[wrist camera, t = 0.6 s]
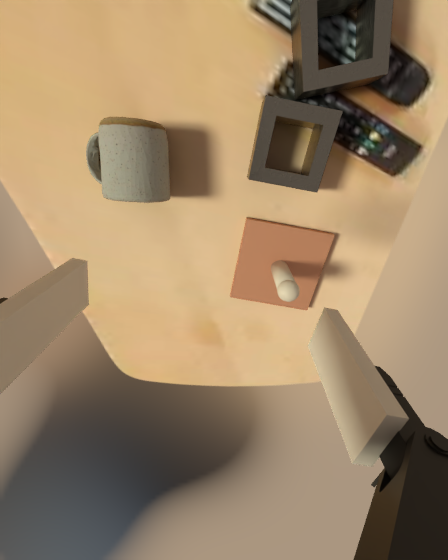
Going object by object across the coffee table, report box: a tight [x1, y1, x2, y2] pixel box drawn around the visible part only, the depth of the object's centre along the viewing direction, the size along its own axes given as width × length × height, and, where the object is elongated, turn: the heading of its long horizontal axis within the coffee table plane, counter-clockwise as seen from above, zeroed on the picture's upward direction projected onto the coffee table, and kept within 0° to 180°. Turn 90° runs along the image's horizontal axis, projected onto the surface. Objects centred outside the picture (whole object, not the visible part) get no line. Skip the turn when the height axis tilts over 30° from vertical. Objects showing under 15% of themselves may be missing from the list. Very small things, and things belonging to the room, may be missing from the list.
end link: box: [247, 95, 343, 192], centre depth 30 cm, size 8×8×4 cm
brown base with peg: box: [230, 218, 335, 310], centre depth 34 cm, size 12×12×9 cm
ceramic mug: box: [86, 117, 170, 203], centre depth 29 cm, size 11×8×8 cm
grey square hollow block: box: [290, 0, 393, 100], centre depth 26 cm, size 8×8×4 cm
